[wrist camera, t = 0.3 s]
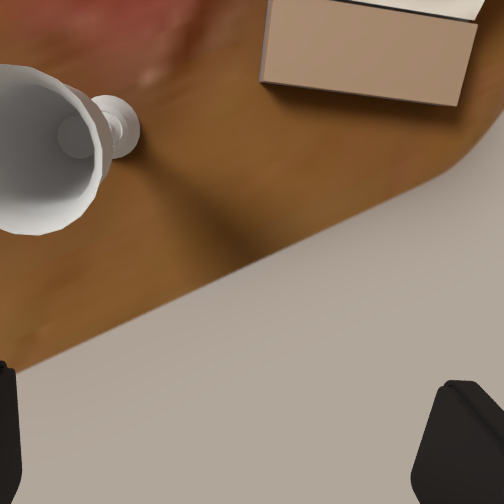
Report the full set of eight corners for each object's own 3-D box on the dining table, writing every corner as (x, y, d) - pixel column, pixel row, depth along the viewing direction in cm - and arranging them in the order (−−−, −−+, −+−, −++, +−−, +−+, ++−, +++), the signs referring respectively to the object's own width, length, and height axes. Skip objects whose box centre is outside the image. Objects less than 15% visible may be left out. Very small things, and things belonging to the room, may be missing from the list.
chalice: (72, 69, 34) (-61, 41, 17) (158, 94, 35) (115, 91, 18) (60, 160, 36) (-68, 216, 19) (142, 180, 37) (89, 249, 20)
